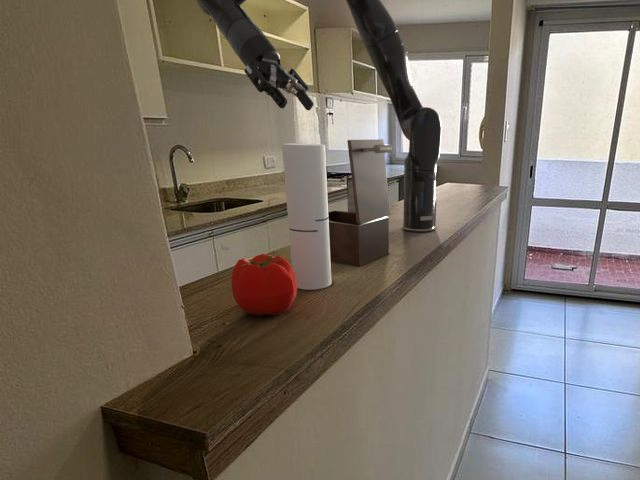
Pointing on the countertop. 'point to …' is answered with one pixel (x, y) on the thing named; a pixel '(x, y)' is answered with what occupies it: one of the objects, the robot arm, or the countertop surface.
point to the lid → (369, 178)
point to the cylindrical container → (308, 213)
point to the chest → (357, 238)
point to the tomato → (264, 285)
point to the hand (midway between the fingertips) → (298, 106)
